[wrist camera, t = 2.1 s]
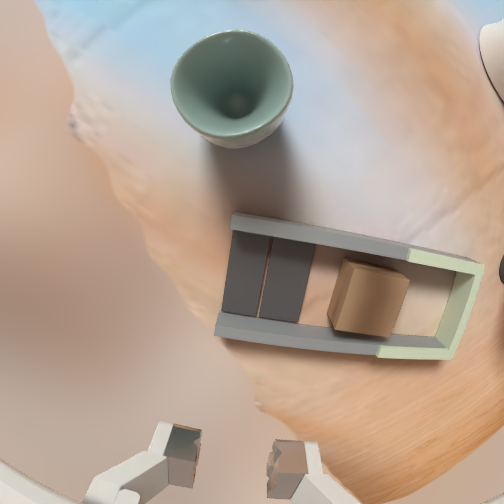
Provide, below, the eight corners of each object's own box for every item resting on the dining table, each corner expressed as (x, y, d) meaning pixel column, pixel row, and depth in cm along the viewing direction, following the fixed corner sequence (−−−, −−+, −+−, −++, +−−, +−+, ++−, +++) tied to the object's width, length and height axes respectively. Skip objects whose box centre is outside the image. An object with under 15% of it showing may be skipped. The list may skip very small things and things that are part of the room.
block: (393, 268, 30) (410, 280, 26) (376, 320, 31) (389, 337, 27) (342, 257, 29) (354, 268, 26) (326, 312, 31) (334, 329, 27)
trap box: (467, 257, 29) (485, 265, 26) (438, 345, 31) (451, 359, 28) (234, 211, 29) (230, 215, 25) (217, 322, 31) (213, 338, 28)
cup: (297, 129, 27) (316, 102, 17) (223, 168, 28) (204, 161, 18) (256, 63, 25) (254, 12, 15) (184, 101, 26) (150, 66, 16)
